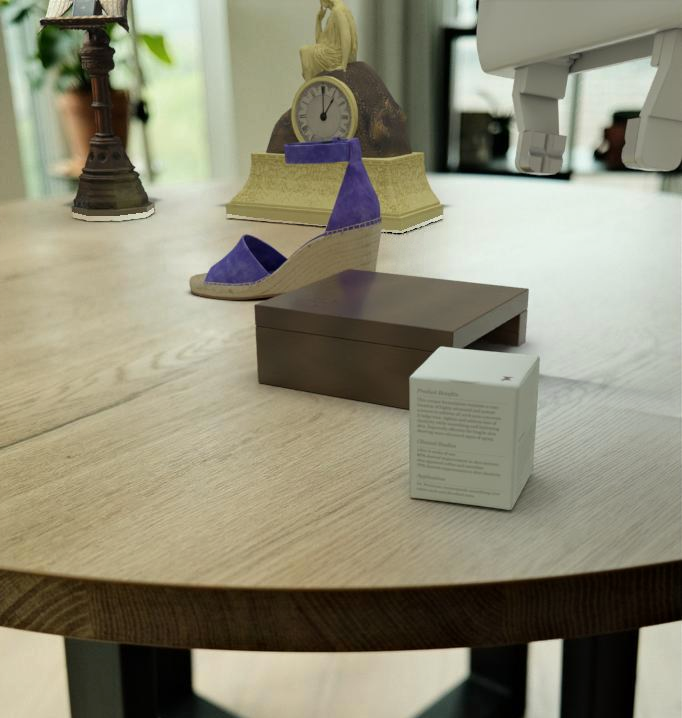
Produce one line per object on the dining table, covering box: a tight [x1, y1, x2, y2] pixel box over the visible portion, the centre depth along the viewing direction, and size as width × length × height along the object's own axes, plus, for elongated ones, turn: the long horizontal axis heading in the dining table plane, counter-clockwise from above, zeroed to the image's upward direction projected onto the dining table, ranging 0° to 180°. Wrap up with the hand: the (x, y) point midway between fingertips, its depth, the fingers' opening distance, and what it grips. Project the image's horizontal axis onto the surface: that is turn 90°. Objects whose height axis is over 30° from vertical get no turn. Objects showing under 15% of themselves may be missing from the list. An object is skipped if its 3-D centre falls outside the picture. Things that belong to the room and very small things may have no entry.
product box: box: [408, 347, 541, 511], centre depth 58 cm, size 6×6×7 cm
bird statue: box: [37, 0, 156, 216], centre depth 140 cm, size 17×13×35 cm
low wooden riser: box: [253, 269, 530, 410], centre depth 78 cm, size 16×14×6 cm
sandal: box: [188, 137, 382, 301], centre depth 100 cm, size 8×20×15 cm, turn 68°
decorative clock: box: [225, 0, 444, 231], centre depth 138 cm, size 28×13×30 cm, turn 60°
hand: (587, 172), depth 44 cm, fingers open, 8 cm apart
